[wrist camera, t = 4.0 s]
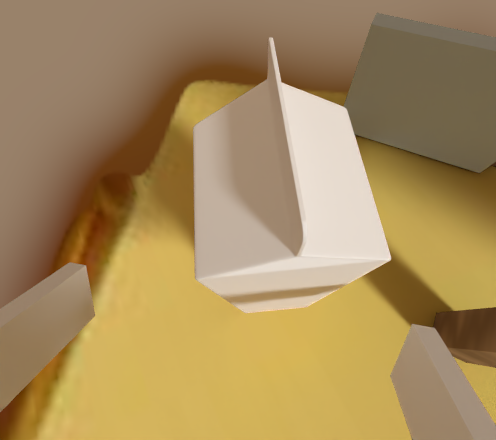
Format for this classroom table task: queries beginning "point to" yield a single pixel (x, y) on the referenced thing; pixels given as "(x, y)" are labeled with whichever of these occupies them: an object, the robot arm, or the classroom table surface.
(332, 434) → the classroom table surface
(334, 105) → the milk
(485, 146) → the door
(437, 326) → the door frame
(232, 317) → the classroom table surface
